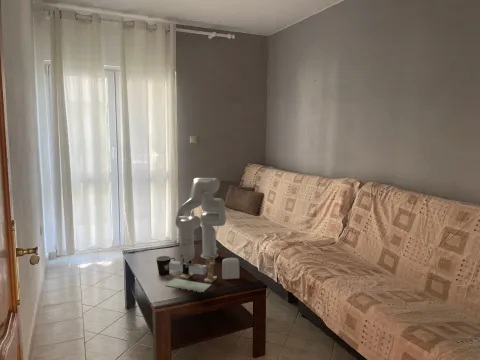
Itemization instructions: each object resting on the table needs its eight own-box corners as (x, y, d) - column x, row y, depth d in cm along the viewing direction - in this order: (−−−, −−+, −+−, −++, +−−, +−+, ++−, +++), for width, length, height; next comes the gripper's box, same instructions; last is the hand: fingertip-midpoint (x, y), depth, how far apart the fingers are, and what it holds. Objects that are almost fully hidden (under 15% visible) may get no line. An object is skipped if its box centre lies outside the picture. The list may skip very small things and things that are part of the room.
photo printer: (222, 279, 210) (222, 259, 209) (222, 277, 214) (221, 257, 213) (239, 279, 211) (239, 258, 210) (239, 276, 215) (238, 256, 214)
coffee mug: (157, 277, 215) (156, 261, 214) (156, 272, 223) (156, 256, 222) (176, 275, 218) (176, 259, 217) (175, 270, 226) (174, 254, 225)
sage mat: (175, 279, 212) (175, 278, 211) (211, 285, 202) (211, 284, 202) (165, 285, 202) (165, 284, 202) (202, 292, 193) (202, 291, 193)
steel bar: (173, 267, 207) (172, 260, 207) (206, 272, 199) (206, 265, 198) (169, 269, 204) (169, 262, 203) (203, 274, 195) (203, 267, 195)
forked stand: (186, 273, 221) (185, 252, 219) (217, 278, 213) (216, 256, 211) (180, 277, 214) (179, 256, 212) (211, 282, 206) (211, 260, 204)
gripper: (188, 236, 208) (189, 266, 210) (172, 244, 193) (173, 276, 195) (200, 237, 205) (200, 268, 208) (184, 245, 190) (185, 278, 192)
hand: (187, 272), depth 201 cm, fingers closed on steel bar, 4 cm apart
